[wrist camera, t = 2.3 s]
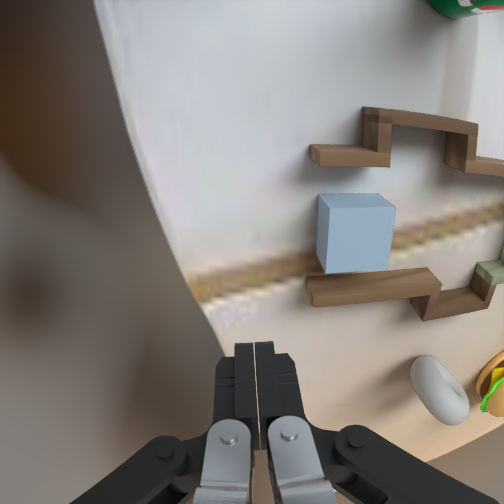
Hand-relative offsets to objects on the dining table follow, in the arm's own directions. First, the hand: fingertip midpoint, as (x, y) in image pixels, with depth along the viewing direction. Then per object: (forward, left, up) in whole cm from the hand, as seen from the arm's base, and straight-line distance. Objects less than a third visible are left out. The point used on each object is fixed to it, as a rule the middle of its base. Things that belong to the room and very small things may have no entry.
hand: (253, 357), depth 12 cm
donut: (+18, +21, -14) cm, 31 cm away
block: (0, +8, -14) cm, 16 cm away
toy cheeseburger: (+25, +39, -14) cm, 49 cm away
